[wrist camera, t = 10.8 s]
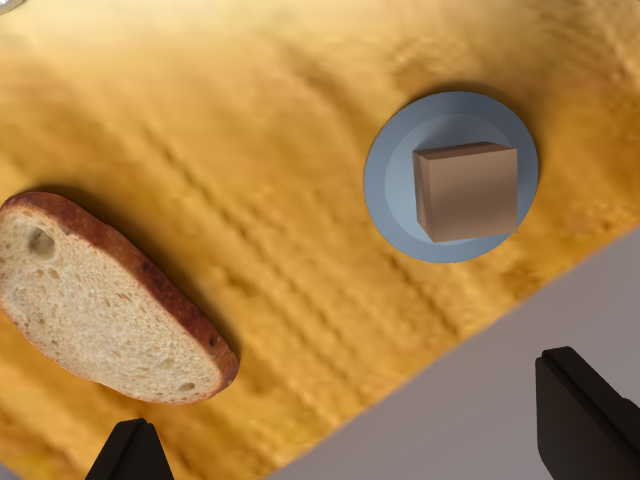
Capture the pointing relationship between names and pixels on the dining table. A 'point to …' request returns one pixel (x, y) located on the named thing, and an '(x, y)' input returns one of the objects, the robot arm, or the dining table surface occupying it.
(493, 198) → the block
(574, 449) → the robot arm
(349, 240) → the dining table surface
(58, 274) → the bread slice
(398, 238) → the dish
